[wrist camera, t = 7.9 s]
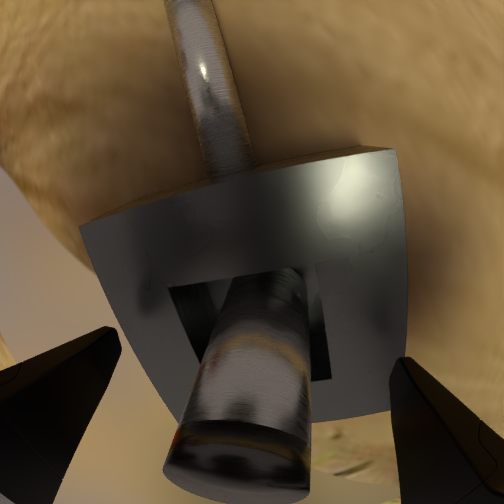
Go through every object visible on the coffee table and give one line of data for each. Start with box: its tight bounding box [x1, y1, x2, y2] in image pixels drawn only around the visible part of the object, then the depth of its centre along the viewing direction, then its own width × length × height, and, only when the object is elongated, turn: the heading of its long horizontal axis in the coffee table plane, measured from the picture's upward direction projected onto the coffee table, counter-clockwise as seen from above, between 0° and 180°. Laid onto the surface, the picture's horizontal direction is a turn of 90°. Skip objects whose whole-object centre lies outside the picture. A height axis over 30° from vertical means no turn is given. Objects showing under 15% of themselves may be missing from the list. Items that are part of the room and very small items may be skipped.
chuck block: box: [79, 0, 408, 423], centre depth 10 cm, size 19×10×4 cm, turn 14°
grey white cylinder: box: [163, 268, 311, 504], centre depth 8 cm, size 3×3×8 cm
